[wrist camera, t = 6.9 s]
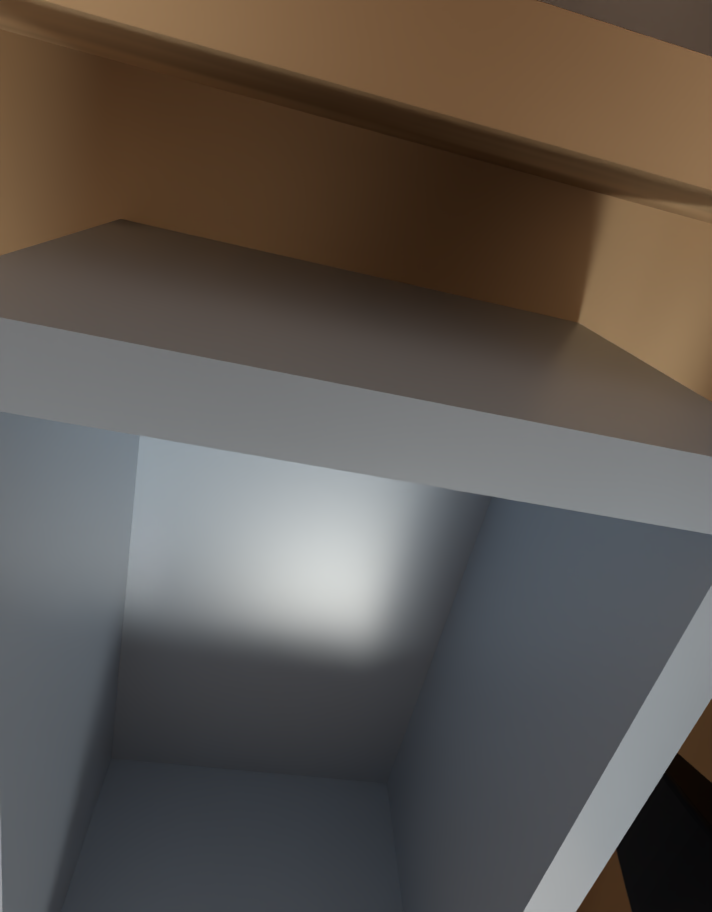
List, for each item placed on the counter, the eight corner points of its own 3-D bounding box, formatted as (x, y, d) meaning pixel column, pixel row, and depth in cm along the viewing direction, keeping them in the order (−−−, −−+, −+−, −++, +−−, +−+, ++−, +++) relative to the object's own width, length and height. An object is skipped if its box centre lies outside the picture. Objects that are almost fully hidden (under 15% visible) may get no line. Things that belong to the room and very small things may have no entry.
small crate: (120, 218, 8) (-125, 294, 3) (578, 322, 9) (847, 483, 4) (86, 750, 12) (-47, 1101, 8) (403, 778, 13) (453, 1102, 9)
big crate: (870, 210, 9) (1297, 246, 5) (531, 831, 15) (610, 1068, 11) (-233, -113, 7) (-992, -498, 3) (-120, 776, 13) (-311, 1052, 9)
